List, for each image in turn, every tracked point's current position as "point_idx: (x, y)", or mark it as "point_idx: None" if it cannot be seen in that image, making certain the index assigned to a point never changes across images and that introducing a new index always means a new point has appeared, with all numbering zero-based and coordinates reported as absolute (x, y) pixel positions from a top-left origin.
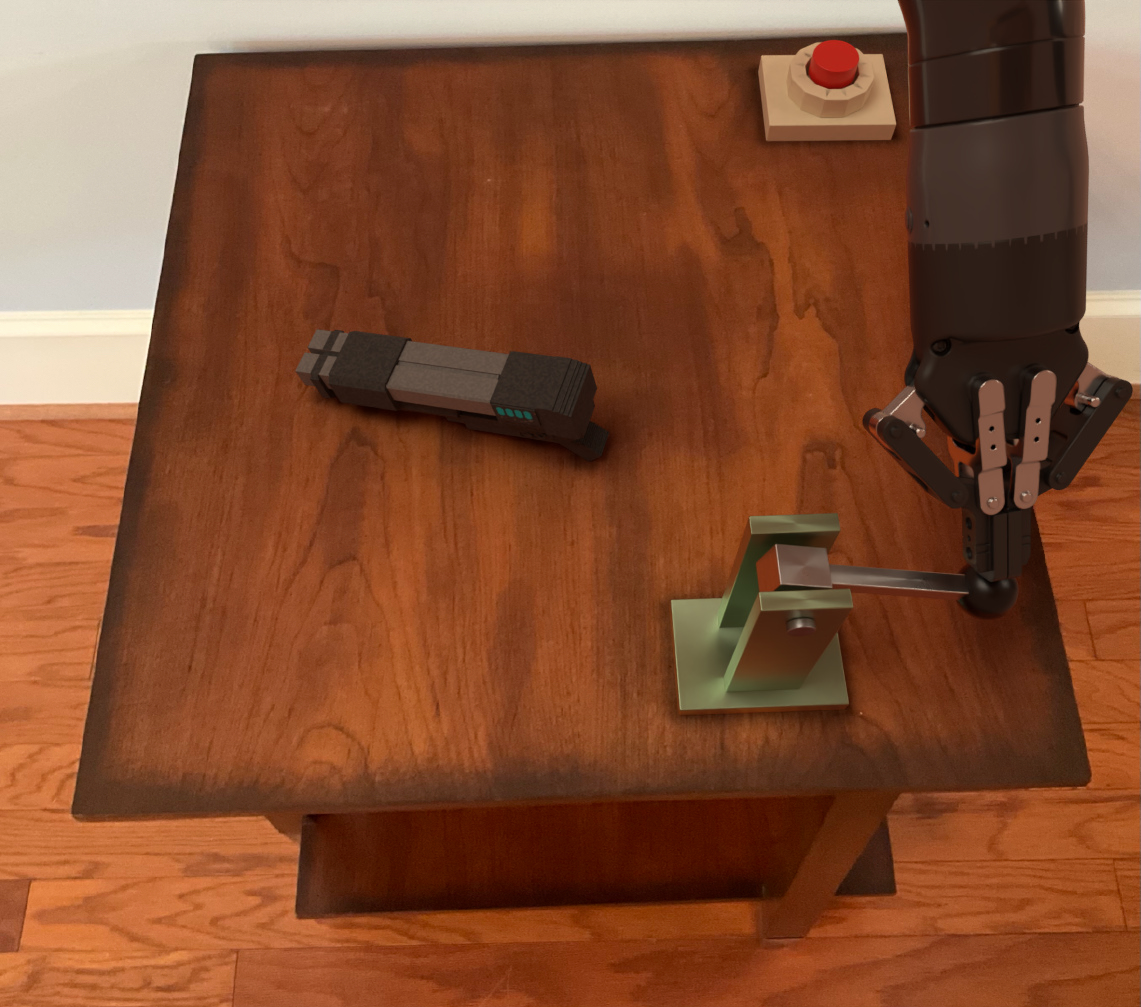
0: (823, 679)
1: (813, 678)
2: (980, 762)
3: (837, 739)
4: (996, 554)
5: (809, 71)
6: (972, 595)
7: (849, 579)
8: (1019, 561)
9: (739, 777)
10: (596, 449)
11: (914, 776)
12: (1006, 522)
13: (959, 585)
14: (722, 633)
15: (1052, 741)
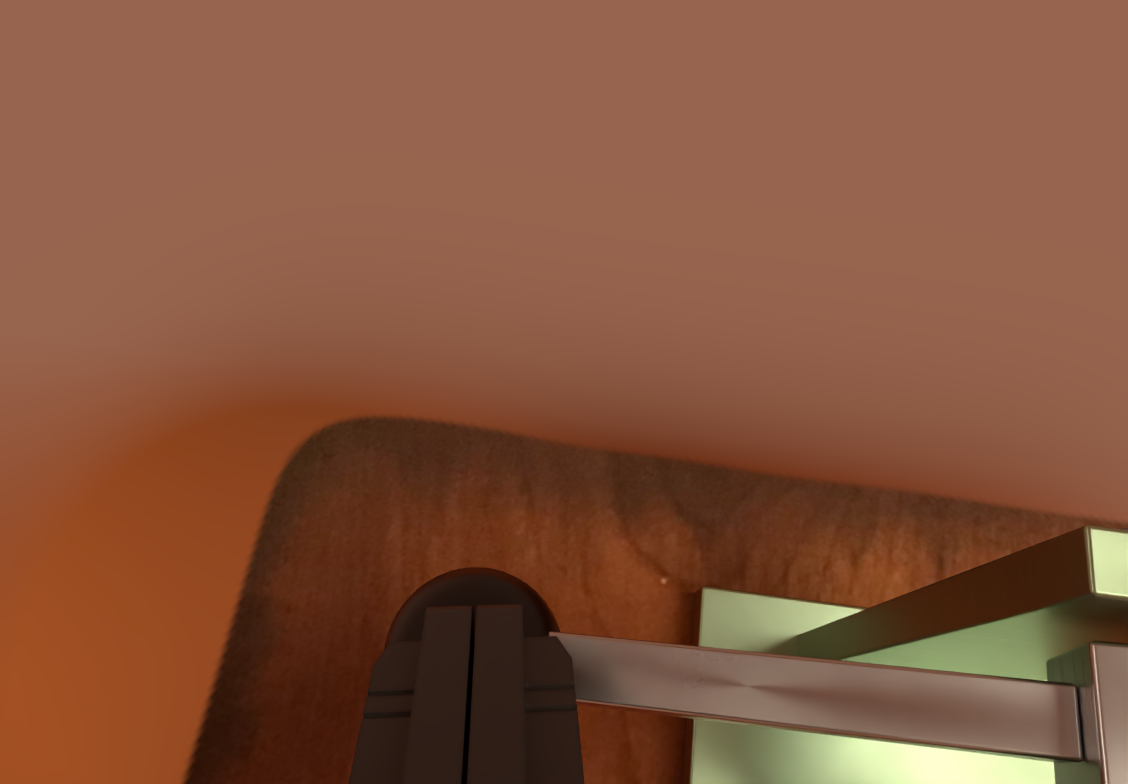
0: (744, 647)
1: (765, 652)
2: (467, 453)
3: (720, 538)
4: (516, 661)
5: None
6: (543, 622)
7: (979, 693)
8: (431, 635)
9: (912, 501)
10: None
11: (595, 449)
12: (470, 755)
13: (573, 659)
14: None
15: (318, 466)
